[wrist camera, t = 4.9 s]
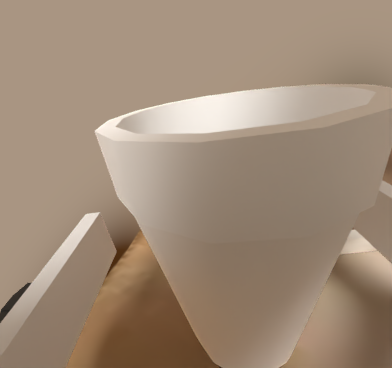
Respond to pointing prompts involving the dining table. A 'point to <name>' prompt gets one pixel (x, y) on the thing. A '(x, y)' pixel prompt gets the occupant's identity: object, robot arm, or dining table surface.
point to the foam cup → (251, 203)
